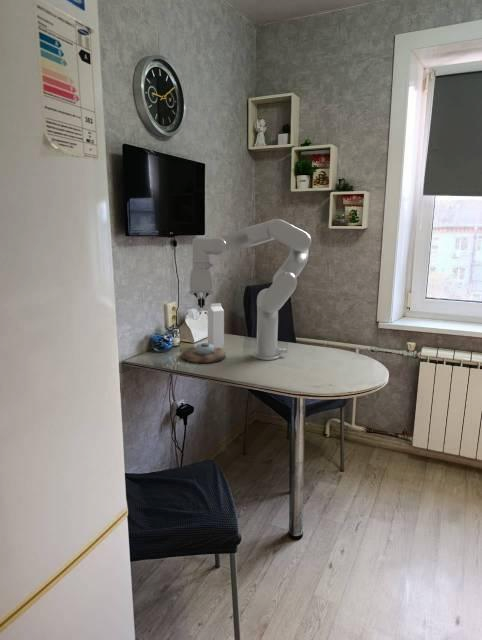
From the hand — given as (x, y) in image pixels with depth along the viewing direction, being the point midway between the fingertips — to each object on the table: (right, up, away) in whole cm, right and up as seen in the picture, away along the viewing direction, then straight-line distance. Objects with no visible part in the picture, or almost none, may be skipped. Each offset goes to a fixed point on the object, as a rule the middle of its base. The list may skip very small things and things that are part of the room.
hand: (201, 307), depth 194 cm
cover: (+1, -21, +4) cm, 21 cm away
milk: (+5, -19, +22) cm, 29 cm away
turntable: (+1, -23, +4) cm, 23 cm away
